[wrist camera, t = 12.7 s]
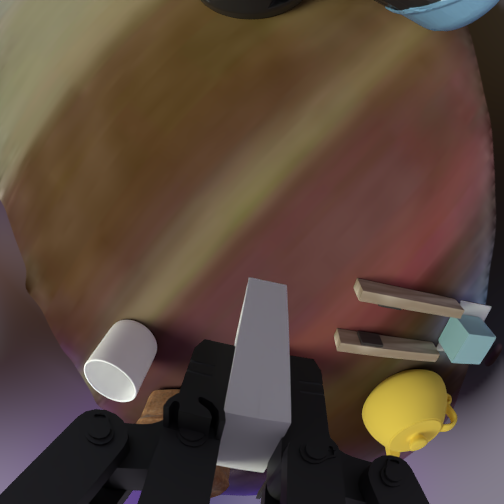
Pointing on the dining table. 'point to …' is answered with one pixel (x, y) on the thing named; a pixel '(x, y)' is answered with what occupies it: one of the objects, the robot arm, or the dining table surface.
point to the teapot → (408, 410)
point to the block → (466, 339)
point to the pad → (471, 313)
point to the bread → (155, 414)
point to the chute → (398, 300)
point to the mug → (121, 361)
